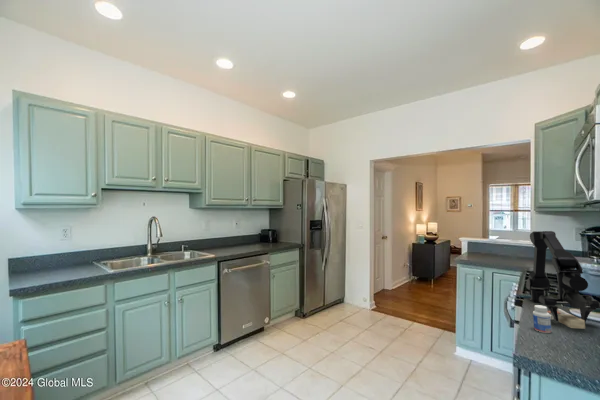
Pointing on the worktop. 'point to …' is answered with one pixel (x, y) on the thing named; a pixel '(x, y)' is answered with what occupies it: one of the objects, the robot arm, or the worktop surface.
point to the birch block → (571, 321)
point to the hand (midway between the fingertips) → (570, 322)
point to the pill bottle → (541, 319)
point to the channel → (557, 312)
